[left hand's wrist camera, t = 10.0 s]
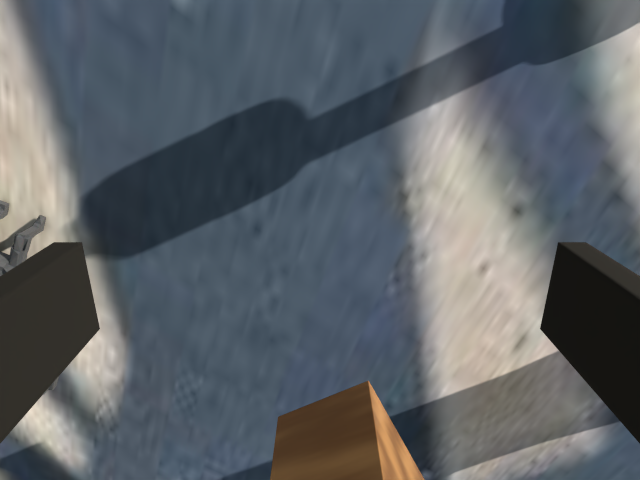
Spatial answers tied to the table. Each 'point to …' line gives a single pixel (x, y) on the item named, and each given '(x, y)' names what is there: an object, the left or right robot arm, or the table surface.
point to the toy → (20, 250)
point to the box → (341, 441)
